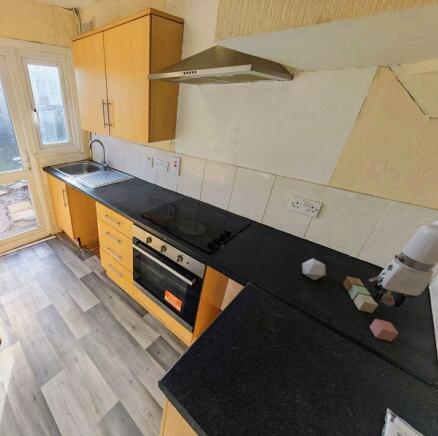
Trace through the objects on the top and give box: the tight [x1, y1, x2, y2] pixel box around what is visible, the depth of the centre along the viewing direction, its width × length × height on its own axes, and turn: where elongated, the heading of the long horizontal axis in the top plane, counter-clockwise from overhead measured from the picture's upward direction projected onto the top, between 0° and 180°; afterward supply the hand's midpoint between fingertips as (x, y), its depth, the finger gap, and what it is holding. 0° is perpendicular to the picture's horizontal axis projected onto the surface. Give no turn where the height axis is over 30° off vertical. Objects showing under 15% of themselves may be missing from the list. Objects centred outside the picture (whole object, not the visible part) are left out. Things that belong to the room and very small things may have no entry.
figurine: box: [378, 290, 395, 307], centre depth 79 cm, size 5×4×6 cm
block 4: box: [369, 318, 399, 342], centre depth 78 cm, size 4×4×4 cm
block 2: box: [347, 285, 371, 301], centre depth 93 cm, size 4×4×4 cm
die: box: [301, 257, 327, 281], centre depth 103 cm, size 8×9×10 cm
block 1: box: [342, 276, 365, 292], centre depth 98 cm, size 4×4×4 cm
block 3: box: [353, 294, 379, 314], centre depth 89 cm, size 4×4×4 cm
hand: (384, 301), depth 80 cm, fingers closed on figurine, 5 cm apart
